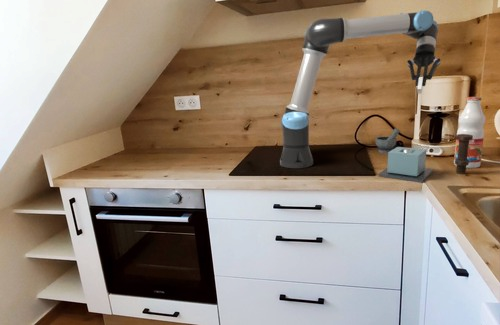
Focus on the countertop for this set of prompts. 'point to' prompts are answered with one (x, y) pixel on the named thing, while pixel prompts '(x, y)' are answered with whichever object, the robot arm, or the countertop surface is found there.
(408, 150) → the pipe stand
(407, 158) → the sleeve
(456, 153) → the fruit juice
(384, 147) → the mortar and pestle
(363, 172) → the countertop surface
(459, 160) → the bolt
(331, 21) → the robot arm
